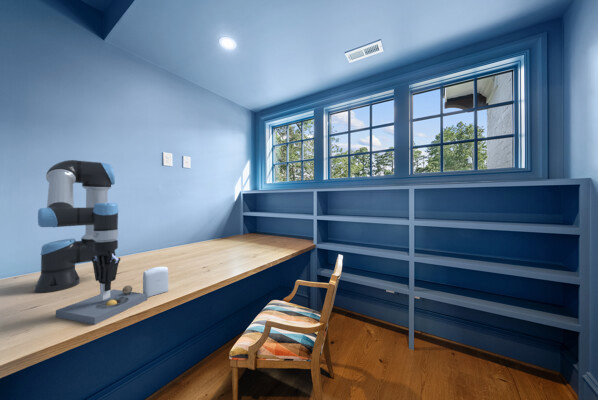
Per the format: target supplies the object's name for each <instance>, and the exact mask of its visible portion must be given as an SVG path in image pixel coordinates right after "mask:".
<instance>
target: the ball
mask: <svg viewBox="0 0 598 400" xmlns="http://www.w3.org/2000/svg"><path fill="white" fill-rule="evenodd" d="M115 304H117V301H116V300H110V301H108V302H107V303H106V306H110V305H115Z"/></svg>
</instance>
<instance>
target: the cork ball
mask: <svg viewBox="0 0 598 400" xmlns="http://www.w3.org/2000/svg"><path fill="white" fill-rule="evenodd" d="M122 292H123V293H124V294H129V293H130V292H133V287H132V285H125V286H124V287H123V288H122Z"/></svg>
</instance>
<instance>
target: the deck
mask: <svg viewBox="0 0 598 400" xmlns="http://www.w3.org/2000/svg"><path fill="white" fill-rule="evenodd" d="M122 290H123V289H122ZM122 290H121V289H111V290H110V297H109V298H107V299H104V300H100V293H99V294H97V295H94V296H92V297H88V298H86V299H83V300H81V301H78V302H75V303H72V304H70V305H67V306H64V307H61V308H59V309H56V310H55V317H56V318H59V319H65V320H69V321H75V322H79V323H83V324H84V323H85V324H90V325H95V326H96V325H97V324H99V323H101V322H103V321H106V320H108V319H110V318H112V317H114V316H116V315H118V314H120V313H123V312H125V311H127V310H129V309H131V308H133V307H135V306H138V305H139V304H141V303H144V302H146V301H148V298H149V297H148V294H143V292H136V291H135V292H134V291H131V292H130V293H129V294H124V293H123V292H122ZM110 300H116V301H117V304H115V305H110V306H106V303H107V302H108V301H110Z"/></svg>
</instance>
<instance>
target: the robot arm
mask: <svg viewBox="0 0 598 400" xmlns="http://www.w3.org/2000/svg"><path fill="white" fill-rule="evenodd" d="M45 179H46V181H47V182H48V191H47V202H46V203H47V204H46V207H41V208H39V209H38V211H37V225H38V226H39V228H61V227H77V226H85V233H84V235H82V236H81V238H80V239H81V240H76V239H75V238H67V239H61V240H54V241H50V242H47V243H44V244H43V245H42V246H41V250H40V251H41V252H40V256H41V258H40V276H39V278H38V280H37V282H36V284H35V287H34V292H35V293H42V294H43V293H51V292H52V293H53V292H57V291H62V290H65V289H69V288H72V287H75V286H77V285H79V284H80V283H81V280H80V276H79V274H78V272H77V270H76V264H82V263H88V262H92V267H93V272H94V279H95V281H96V282H98V283H99V290H100V291H99V294H100V300H104V299H107V298H109V297H110V290H112V286H111V285H112V282H113V281H116V278H117V272H118V267H119V263H120V261H121V257H117V256H116V252H115V251H116V250H117V249H118V248H119V246H118V245H119V242H118V241H119V240H117V239H119V227H118V225H119V205H118V203H116V202H108V192H109V190H110V189H111V188H112V186H114V185H115V184H116V179H115V171H114V168H113V166H112V165H111V164H109V163H106V162H99V161H97V162H96V161H89V160H88V161H87V160H77V159H69V160H64V161H59V162H58V163H56V164H54V165H52V166H51V167H49V169H48V170H47V172H46V178H45ZM75 183H76V184H81V187H82V188H83V189H85V207H74V206H75V205H74V184H75Z"/></svg>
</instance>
